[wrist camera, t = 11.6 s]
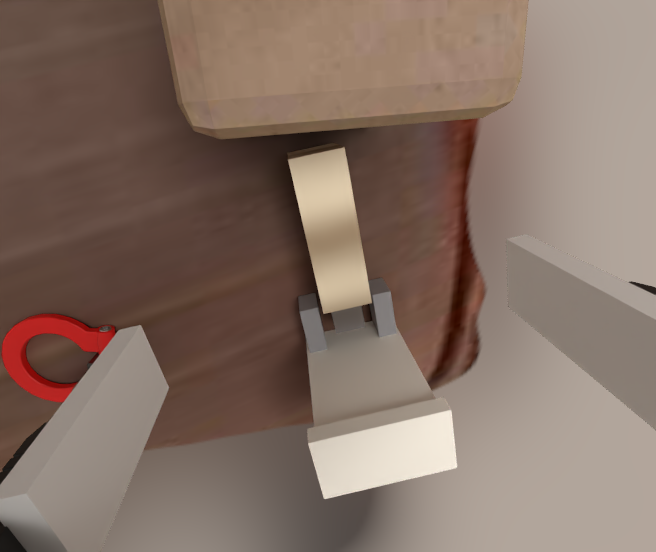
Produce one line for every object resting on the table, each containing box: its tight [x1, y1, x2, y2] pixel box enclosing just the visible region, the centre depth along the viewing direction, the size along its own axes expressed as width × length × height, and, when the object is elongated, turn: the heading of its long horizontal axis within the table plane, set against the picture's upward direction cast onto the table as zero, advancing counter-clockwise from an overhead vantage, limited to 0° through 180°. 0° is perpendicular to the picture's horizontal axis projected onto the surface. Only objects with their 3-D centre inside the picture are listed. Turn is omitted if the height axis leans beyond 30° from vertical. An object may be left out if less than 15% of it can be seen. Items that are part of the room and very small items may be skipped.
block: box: [158, 0, 529, 139], centre depth 18 cm, size 10×10×20 cm
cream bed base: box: [298, 278, 457, 499], centre depth 30 cm, size 8×9×13 cm
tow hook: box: [2, 314, 115, 422], centre depth 29 cm, size 8×13×9 cm
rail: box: [288, 143, 372, 334], centre depth 30 cm, size 14×4×6 cm, turn 11°
